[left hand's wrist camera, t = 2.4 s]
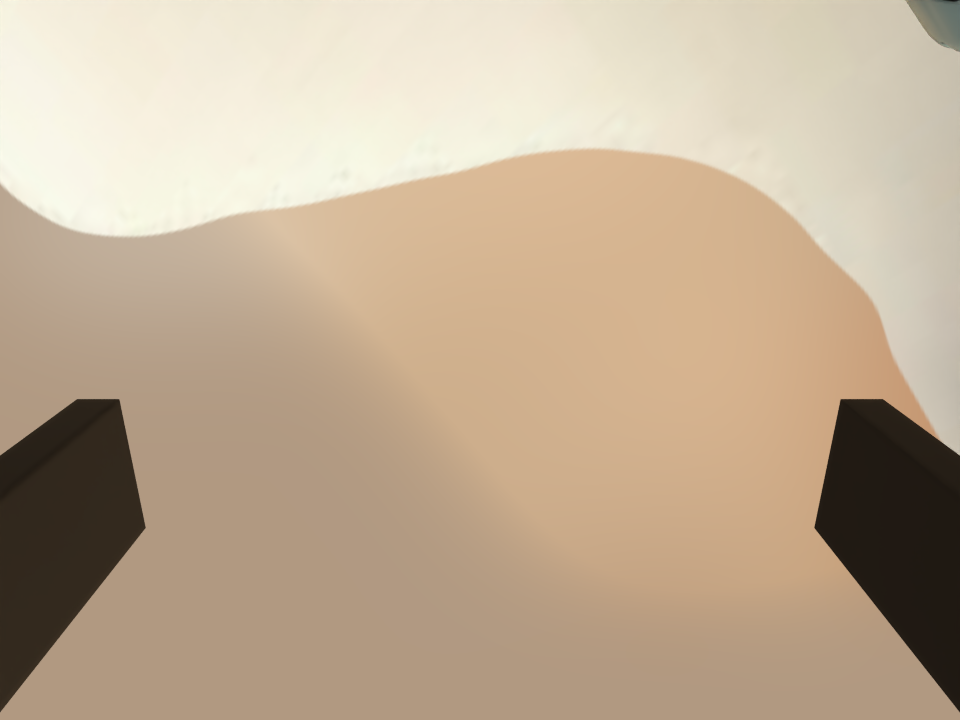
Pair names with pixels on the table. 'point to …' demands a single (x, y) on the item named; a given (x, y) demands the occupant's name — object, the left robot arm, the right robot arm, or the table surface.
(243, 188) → the table surface
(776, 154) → the table surface
